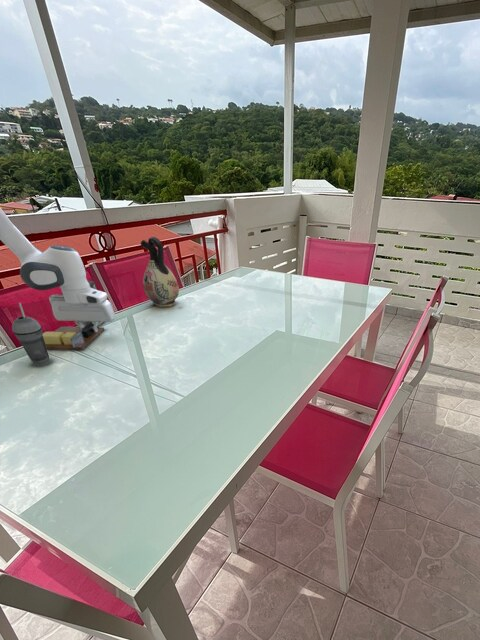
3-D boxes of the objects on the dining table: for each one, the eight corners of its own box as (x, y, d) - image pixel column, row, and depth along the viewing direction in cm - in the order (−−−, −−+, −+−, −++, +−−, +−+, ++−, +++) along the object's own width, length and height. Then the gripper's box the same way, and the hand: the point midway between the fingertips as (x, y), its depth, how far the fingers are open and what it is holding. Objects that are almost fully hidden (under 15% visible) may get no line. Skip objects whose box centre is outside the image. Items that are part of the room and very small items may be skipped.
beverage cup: (38, 357, 110) (12, 298, 99) (60, 358, 110) (36, 299, 99) (23, 367, 104) (-7, 306, 93) (46, 369, 104) (18, 307, 93)
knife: (70, 347, 115) (67, 338, 113) (92, 328, 129) (90, 320, 127) (77, 347, 115) (74, 338, 113) (99, 328, 129) (96, 320, 127)
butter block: (42, 344, 116) (39, 336, 114) (49, 339, 119) (45, 331, 117) (60, 344, 116) (57, 336, 115) (66, 339, 120) (63, 331, 118)
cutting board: (34, 349, 115) (33, 346, 114) (62, 329, 129) (61, 326, 129) (82, 350, 116) (81, 347, 115) (104, 330, 131) (103, 327, 130)
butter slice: (64, 344, 116) (61, 336, 115) (70, 339, 120) (67, 332, 118) (73, 344, 117) (70, 336, 115) (78, 339, 120) (75, 332, 118)
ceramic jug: (140, 304, 157) (124, 235, 140) (167, 297, 167) (156, 231, 150) (162, 313, 149) (149, 240, 132) (190, 304, 160) (180, 236, 143)
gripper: (42, 297, 114) (56, 334, 122) (103, 298, 115) (114, 335, 123) (52, 291, 119) (65, 327, 127) (111, 293, 121) (120, 329, 128)
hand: (90, 331), depth 125 cm, fingers closed on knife, 2 cm apart
